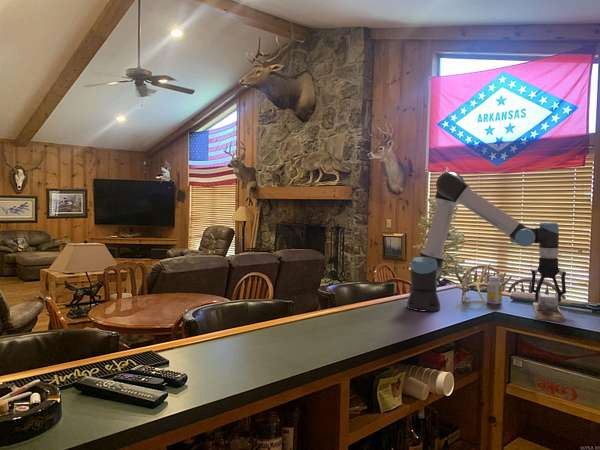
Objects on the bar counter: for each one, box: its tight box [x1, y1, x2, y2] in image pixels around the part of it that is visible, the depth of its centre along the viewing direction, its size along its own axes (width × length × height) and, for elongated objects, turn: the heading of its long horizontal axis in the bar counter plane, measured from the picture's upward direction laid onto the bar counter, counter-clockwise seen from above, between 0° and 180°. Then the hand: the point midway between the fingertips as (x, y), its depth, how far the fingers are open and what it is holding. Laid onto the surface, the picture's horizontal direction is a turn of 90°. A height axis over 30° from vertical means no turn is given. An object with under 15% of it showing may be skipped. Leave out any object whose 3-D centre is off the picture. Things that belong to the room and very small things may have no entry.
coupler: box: [540, 293, 556, 305], centre depth 201 cm, size 6×9×6 cm, turn 155°
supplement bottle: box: [486, 275, 503, 305], centre depth 221 cm, size 7×7×13 cm
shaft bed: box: [532, 302, 565, 322], centre depth 201 cm, size 10×26×6 cm, turn 156°
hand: (547, 308), depth 201 cm, fingers open, 6 cm apart
